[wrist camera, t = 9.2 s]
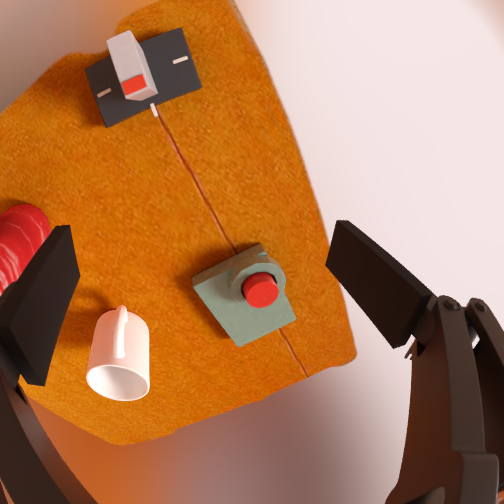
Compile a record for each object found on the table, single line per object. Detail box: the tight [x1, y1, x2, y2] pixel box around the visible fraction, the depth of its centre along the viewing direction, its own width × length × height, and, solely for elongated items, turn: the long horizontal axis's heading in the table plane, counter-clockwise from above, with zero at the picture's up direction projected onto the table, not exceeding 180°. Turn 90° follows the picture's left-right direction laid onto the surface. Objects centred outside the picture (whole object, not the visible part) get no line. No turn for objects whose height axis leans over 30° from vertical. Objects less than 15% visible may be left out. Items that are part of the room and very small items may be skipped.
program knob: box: [106, 30, 158, 101], centre depth 17 cm, size 5×2×8 cm, turn 16°
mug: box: [86, 305, 149, 401], centre depth 32 cm, size 12×8×10 cm
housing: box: [192, 243, 296, 347], centre depth 38 cm, size 14×11×4 cm
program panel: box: [85, 28, 202, 128], centre depth 22 cm, size 10×9×3 cm
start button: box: [243, 272, 279, 308], centre depth 34 cm, size 4×4×2 cm
